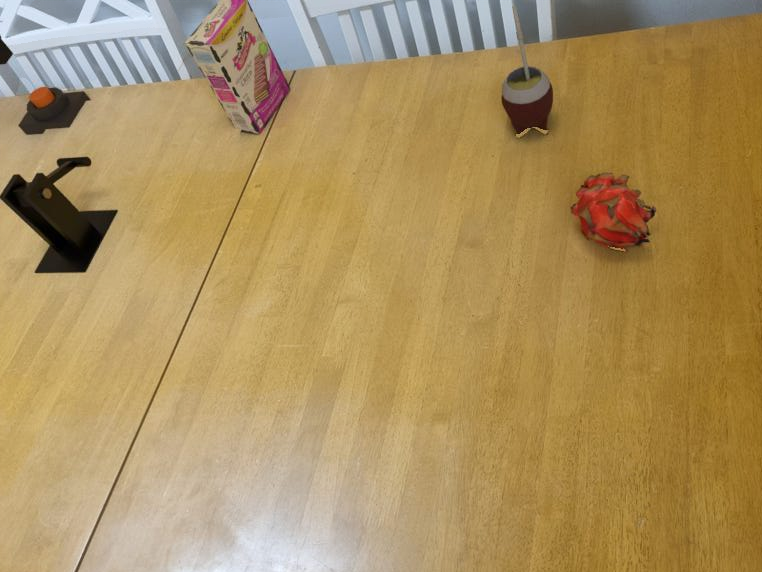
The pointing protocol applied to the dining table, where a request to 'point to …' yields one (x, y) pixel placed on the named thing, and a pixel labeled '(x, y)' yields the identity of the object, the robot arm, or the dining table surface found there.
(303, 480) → the dining table surface
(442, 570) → the dining table surface
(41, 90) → the power button
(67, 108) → the button box
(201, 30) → the candy bar box
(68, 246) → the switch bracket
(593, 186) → the dragon fruit
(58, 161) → the switch lever
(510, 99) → the mate gourd
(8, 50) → the robot arm
